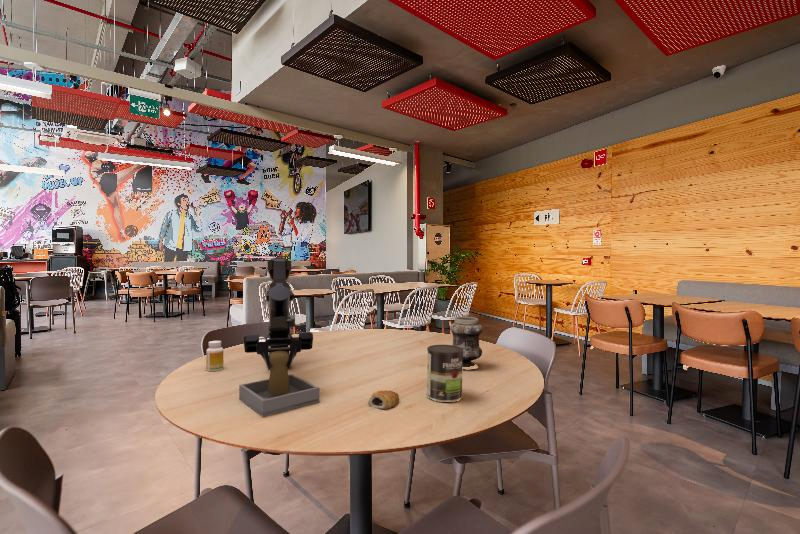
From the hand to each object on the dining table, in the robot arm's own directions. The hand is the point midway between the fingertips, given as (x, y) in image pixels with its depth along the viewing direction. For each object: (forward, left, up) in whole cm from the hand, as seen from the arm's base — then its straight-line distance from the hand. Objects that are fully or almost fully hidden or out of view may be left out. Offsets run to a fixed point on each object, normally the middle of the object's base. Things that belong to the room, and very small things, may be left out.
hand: (279, 368), depth 111 cm
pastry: (-21, +19, -10) cm, 30 cm away
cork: (0, -1, -7) cm, 7 cm away
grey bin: (0, -1, -9) cm, 9 cm away
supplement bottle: (+4, -43, -9) cm, 44 cm away
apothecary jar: (-67, +10, -9) cm, 69 cm away
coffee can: (-38, +26, -9) cm, 47 cm away
